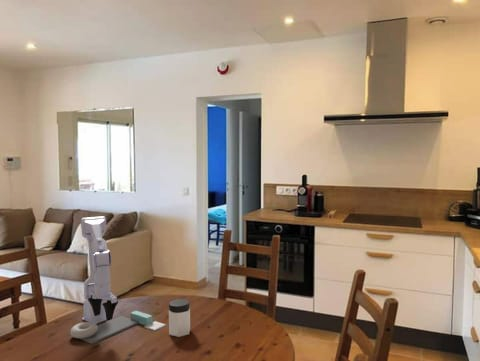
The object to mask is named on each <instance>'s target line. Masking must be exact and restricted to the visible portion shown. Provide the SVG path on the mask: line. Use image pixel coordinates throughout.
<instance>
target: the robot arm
mask: <svg viewBox="0 0 480 361" xmlns="http://www.w3.org/2000/svg"><path fill="white" fill-rule="evenodd" d="M80 228H81V229H80V230H81V235H82V237H83V238H85V239H86V242H87V243H88V244H87V245H88V259H89V273H90V276H89V277H87V279H86V280H84V282H83V296H84V301H83V317H82V318H81V319H82V320H84V322H93V323H95V324H96V325H98V324H99V323H102V322H104V321H105V322H107V321H110V320H112V319H114V318H113V316H114V312H115V309H116V307H117V305H118V304H119V301H118V297H117V296H115V295H114V293H112V292H111V265H112V253H111V250H110V249H108V246H107V242H106V240H105V239H104V238H103V236H105V233H106V229H107V218H106V217H105V215H103V216H91V217H90V216H89V217H82V218H81V219H80Z"/></svg>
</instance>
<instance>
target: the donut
mask: <svg viewBox="0 0 480 361" xmlns="http://www.w3.org/2000/svg"><path fill="white" fill-rule="evenodd" d="M97 325H98V324H95V323H93V322H88V321H83V322H79V323H77V324H75V325H74V326H72V327H71V329H70V332H69V333H70V335H71V337H73V338H75V339H79V338H87V337H90V336H92V335H94V334H95V333H96V332H97V330H98V326H97Z"/></svg>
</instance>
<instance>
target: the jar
mask: <svg viewBox="0 0 480 361" xmlns="http://www.w3.org/2000/svg"><path fill="white" fill-rule="evenodd" d="M190 303H191V302H190V300H188V299H184V298H176V299H173V300H170V301H169V303H168V309H169V310H168V334H169V335H170V336H174V337H178V338H179V337H184V336H187V335H190V332H191V304H190Z"/></svg>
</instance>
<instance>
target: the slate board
mask: <svg viewBox="0 0 480 361" xmlns="http://www.w3.org/2000/svg"><path fill="white" fill-rule="evenodd" d="M138 324H139V323H138V322H137V321H135V320H132V319H131V318H129V317H126V316H123V315H120V316H117V317H115V318H112V319H111V320H109V321H107V320H106V321H105V322H103V323H102V322H101V324H96V325H97V326H98V330H97V332H96V333H95V334H94V335H92V336H90V337H87V338H78V339H79V340H81V341H83V342H86V343H88V344H90V345H93V344H95V343H99V342H100V341H102V340H104V339H106V338H109V337H112V336H113V335H116V334H118V333H120V332H123V331H124V330H127V329H129V328H132V327H134V326H136V325H138Z"/></svg>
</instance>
